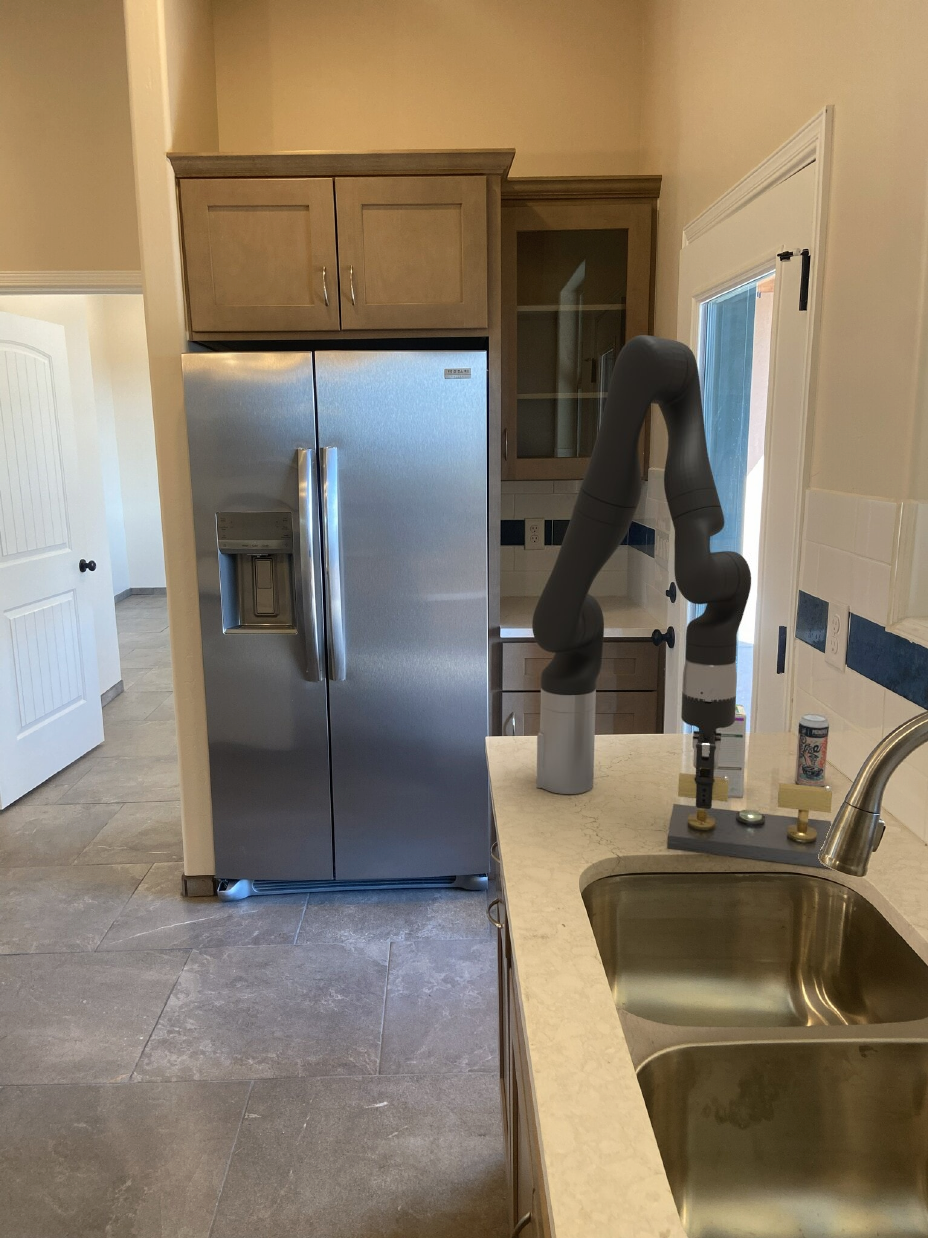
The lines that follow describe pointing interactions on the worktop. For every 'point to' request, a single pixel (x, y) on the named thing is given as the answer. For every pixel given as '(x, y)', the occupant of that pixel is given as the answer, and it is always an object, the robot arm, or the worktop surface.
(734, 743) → the syrup box
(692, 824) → the knob
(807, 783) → the beer can
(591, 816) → the worktop surface
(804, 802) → the knob
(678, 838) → the levelling plate
